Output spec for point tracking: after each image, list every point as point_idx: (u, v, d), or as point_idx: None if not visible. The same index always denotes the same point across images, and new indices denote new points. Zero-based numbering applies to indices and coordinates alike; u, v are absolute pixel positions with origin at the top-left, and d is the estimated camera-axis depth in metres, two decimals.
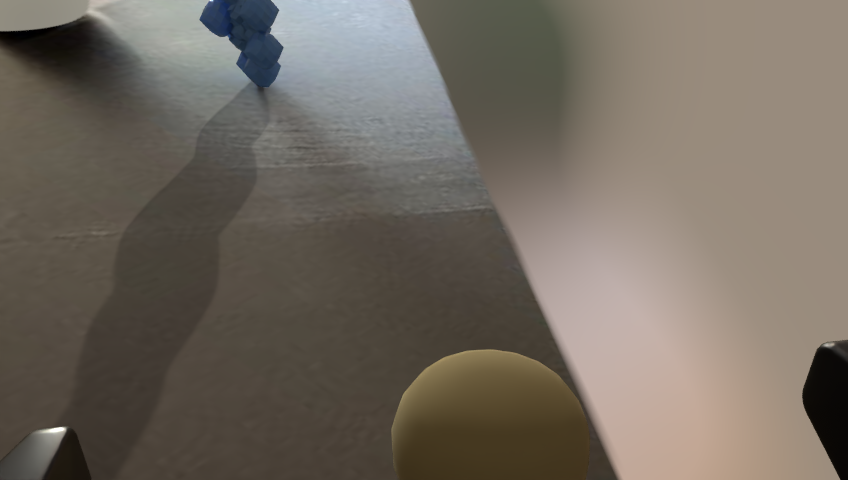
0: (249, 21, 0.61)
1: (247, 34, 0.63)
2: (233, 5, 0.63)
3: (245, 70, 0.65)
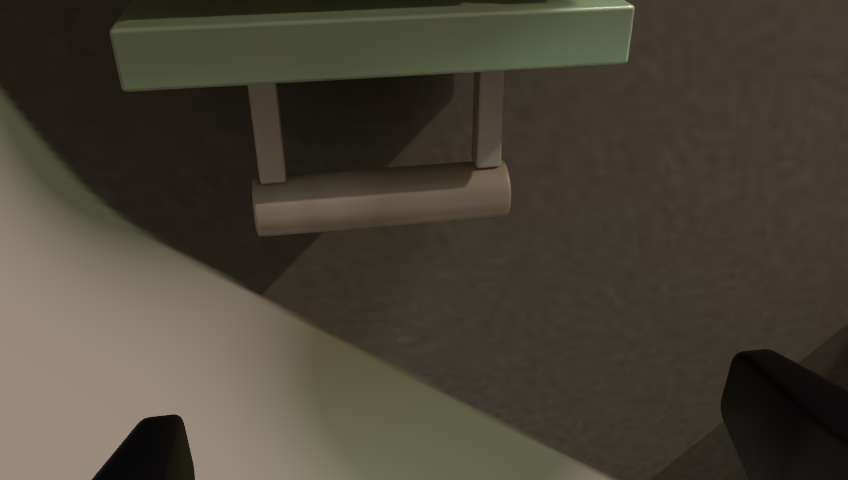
0: None
1: None
2: None
3: None
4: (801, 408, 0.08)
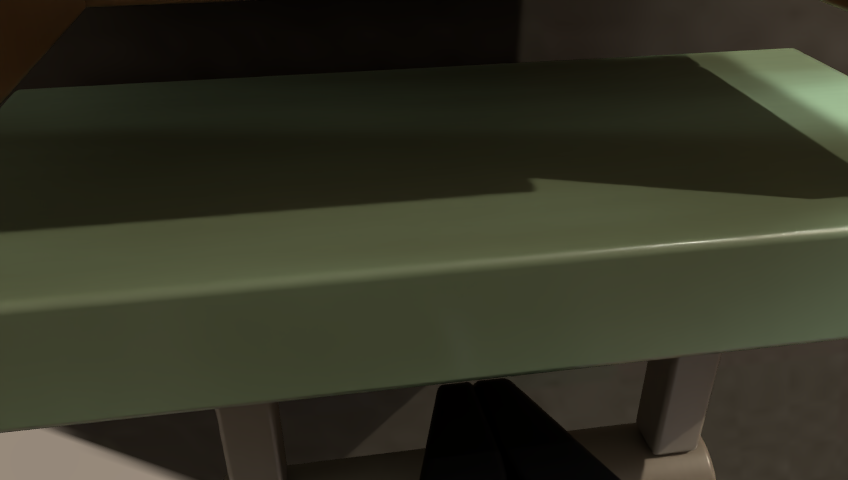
0: None
1: None
2: None
3: None
4: (502, 445, 0.08)
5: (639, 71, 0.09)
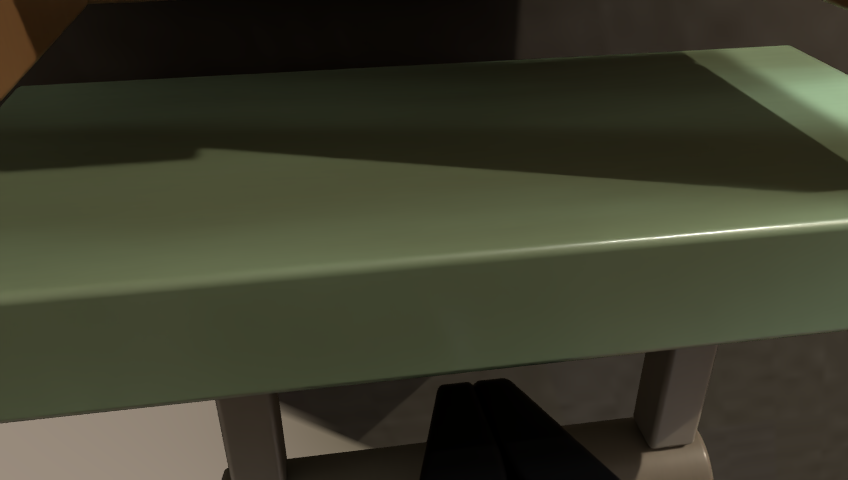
0: None
1: None
2: None
3: None
4: (502, 445, 0.08)
5: (637, 69, 0.09)
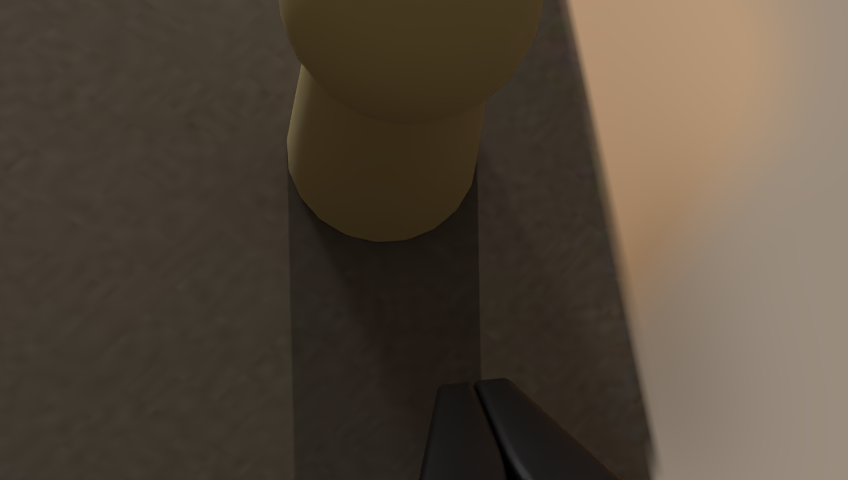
0: None
1: None
2: None
3: None
4: (502, 445, 0.08)
5: None
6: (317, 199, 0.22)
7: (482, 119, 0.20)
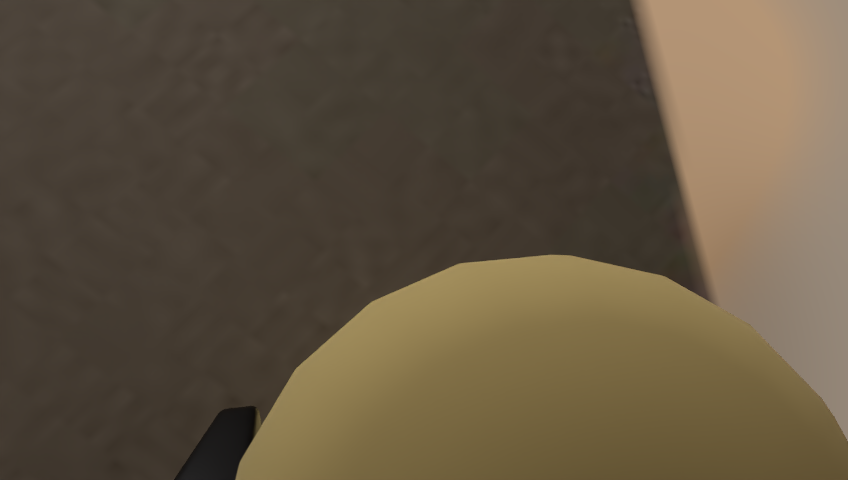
0: None
1: None
2: None
3: None
4: None
5: None
6: None
7: None
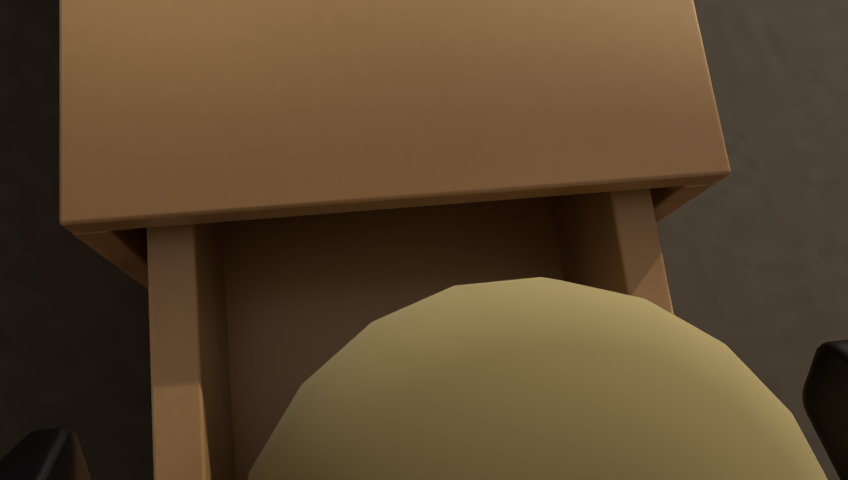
0: None
1: None
2: None
3: None
4: None
5: None
6: None
7: None
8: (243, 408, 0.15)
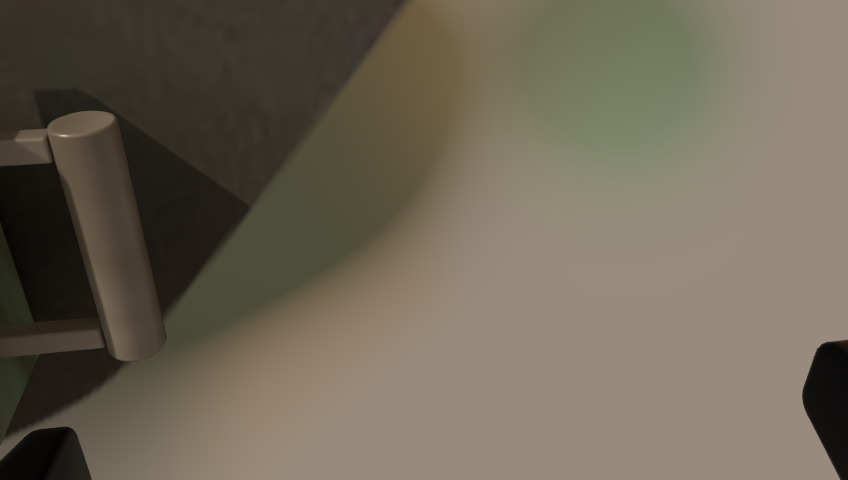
0: None
1: None
2: None
3: None
4: None
5: None
6: None
7: None
8: None
